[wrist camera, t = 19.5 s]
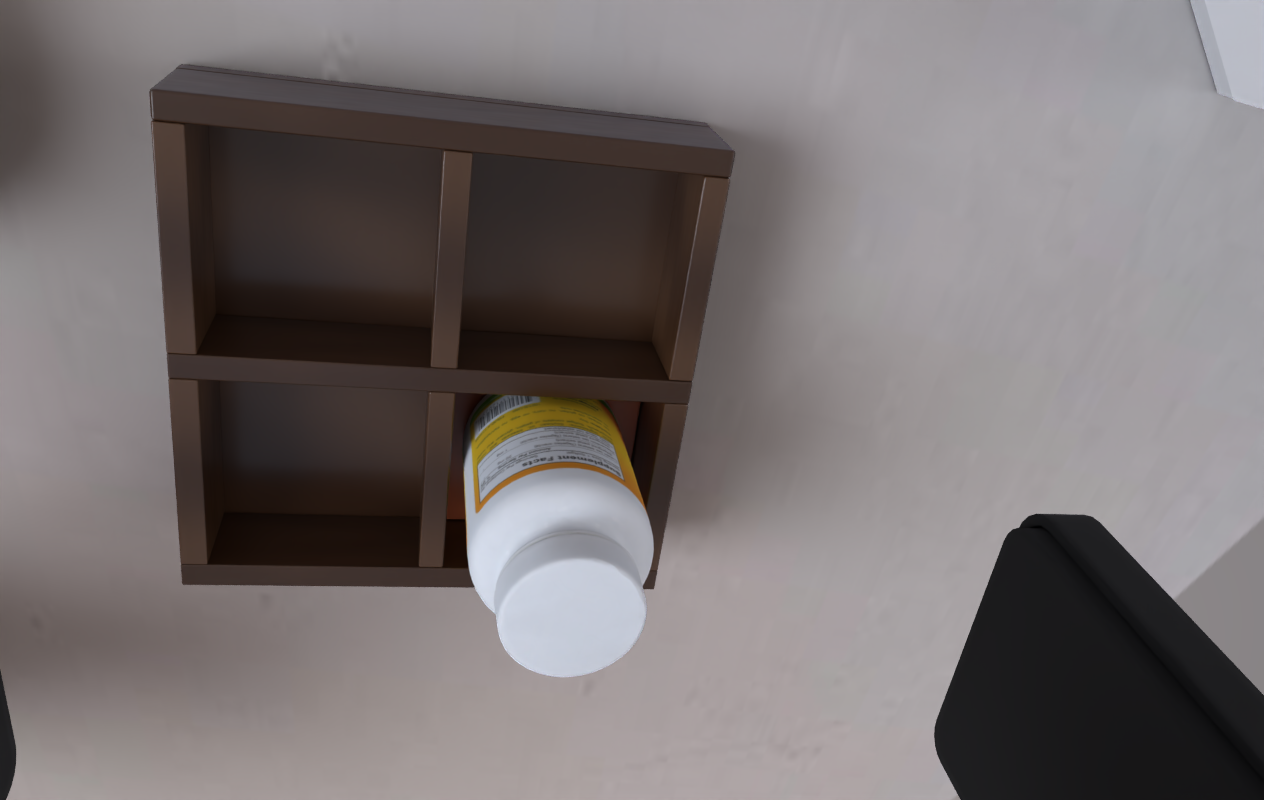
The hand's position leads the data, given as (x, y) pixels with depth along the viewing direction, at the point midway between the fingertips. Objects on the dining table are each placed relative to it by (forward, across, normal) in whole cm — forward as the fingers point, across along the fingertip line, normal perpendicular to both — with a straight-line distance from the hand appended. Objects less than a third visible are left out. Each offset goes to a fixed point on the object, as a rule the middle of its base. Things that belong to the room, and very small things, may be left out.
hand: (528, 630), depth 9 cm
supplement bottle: (+23, -3, +12) cm, 26 cm away
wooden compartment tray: (+24, 0, +8) cm, 25 cm away
